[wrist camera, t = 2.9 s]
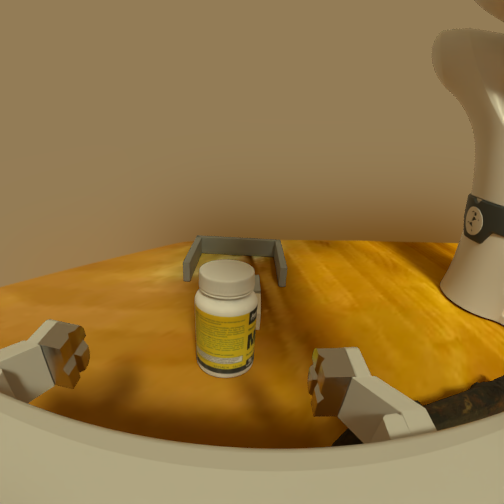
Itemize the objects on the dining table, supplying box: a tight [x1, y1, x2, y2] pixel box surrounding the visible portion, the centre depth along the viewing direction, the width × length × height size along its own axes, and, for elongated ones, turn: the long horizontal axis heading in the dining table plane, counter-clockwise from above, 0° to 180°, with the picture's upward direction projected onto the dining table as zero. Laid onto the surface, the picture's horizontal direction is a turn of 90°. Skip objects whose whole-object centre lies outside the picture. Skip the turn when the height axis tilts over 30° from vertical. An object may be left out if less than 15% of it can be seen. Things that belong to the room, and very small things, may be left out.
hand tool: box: [331, 375, 504, 447], centre depth 17 cm, size 19×4×5 cm, turn 95°
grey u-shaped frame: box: [183, 236, 287, 287], centre depth 44 cm, size 13×11×2 cm
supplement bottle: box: [195, 259, 258, 378], centre depth 24 cm, size 5×5×8 cm
